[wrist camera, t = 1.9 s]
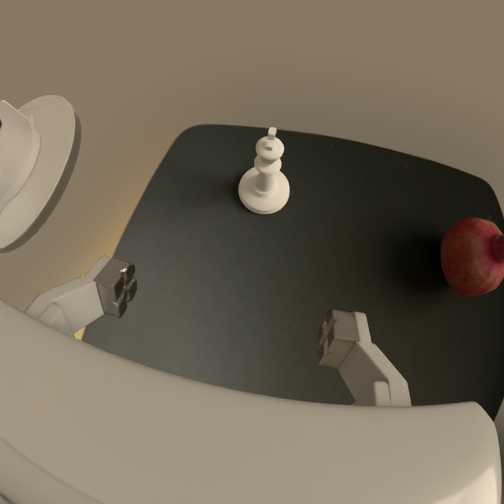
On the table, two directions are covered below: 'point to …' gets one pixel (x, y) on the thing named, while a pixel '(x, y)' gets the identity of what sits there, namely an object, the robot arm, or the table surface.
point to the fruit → (473, 256)
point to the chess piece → (265, 178)
